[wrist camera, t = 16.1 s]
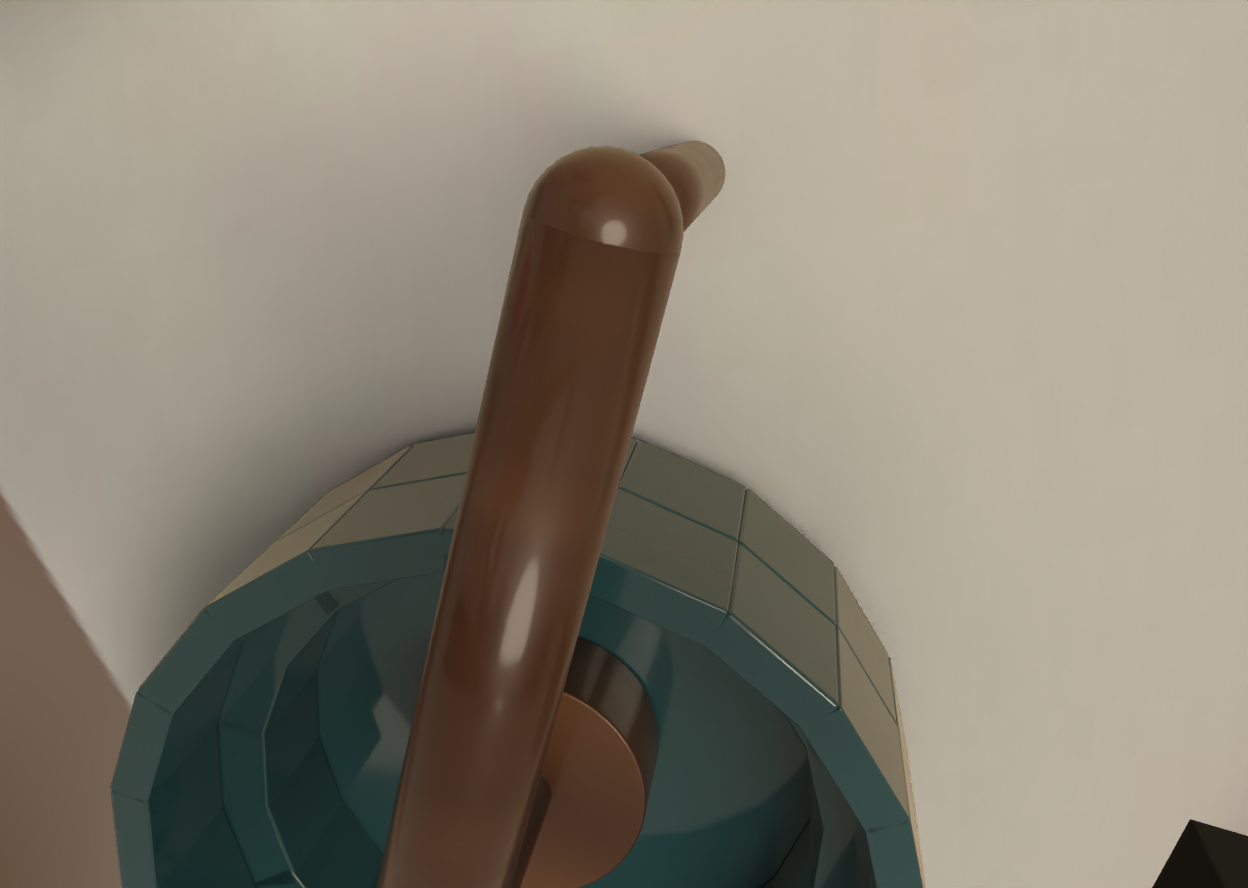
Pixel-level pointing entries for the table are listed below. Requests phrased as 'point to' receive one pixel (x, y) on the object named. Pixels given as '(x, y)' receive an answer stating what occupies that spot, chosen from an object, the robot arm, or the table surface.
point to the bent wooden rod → (547, 548)
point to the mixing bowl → (613, 619)
